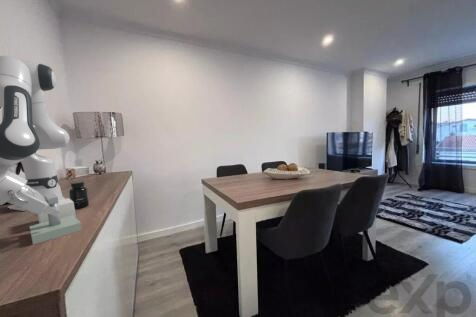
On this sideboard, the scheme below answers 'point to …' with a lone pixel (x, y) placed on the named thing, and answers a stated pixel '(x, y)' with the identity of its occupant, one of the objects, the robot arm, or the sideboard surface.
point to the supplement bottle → (79, 195)
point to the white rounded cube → (64, 207)
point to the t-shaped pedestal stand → (54, 224)
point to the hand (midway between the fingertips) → (55, 210)
